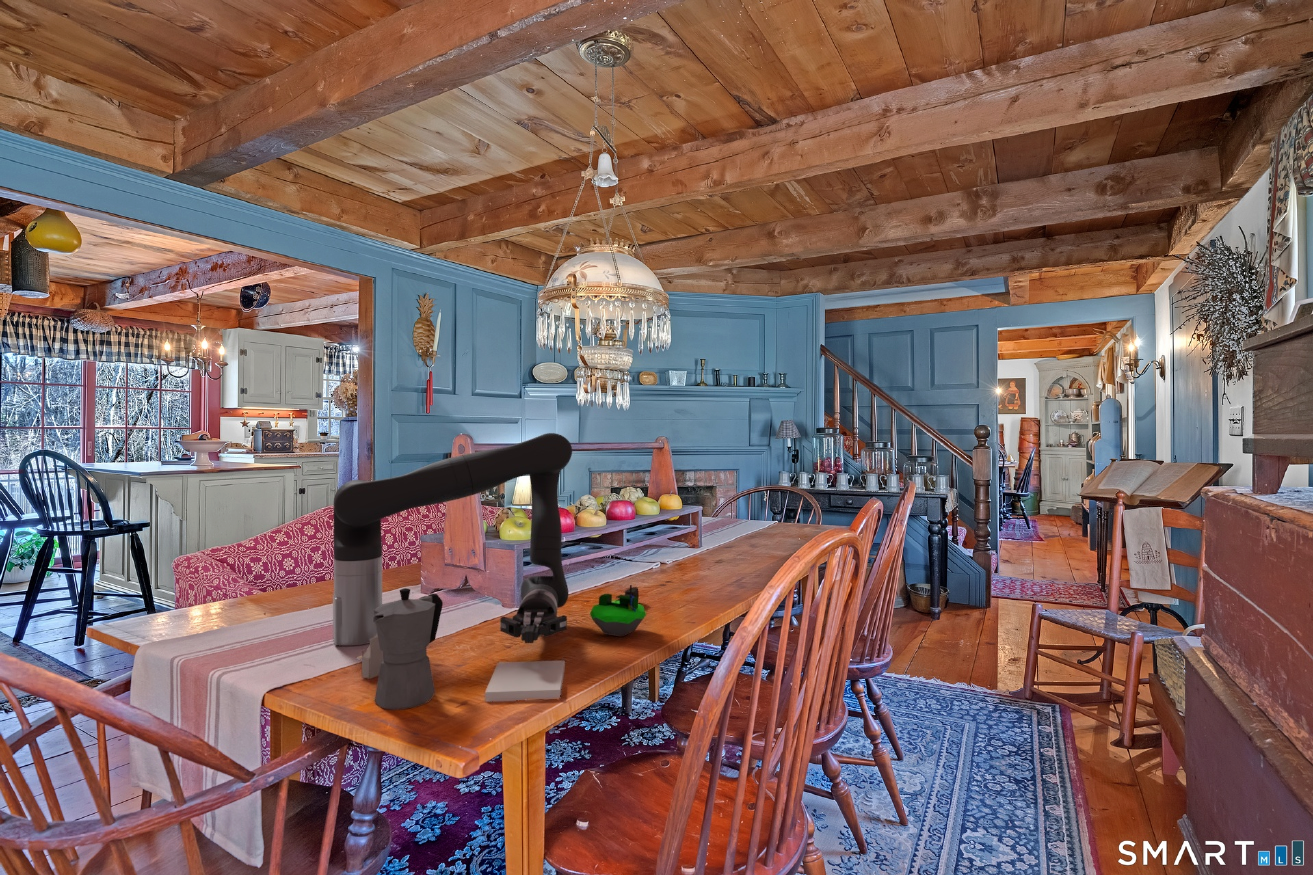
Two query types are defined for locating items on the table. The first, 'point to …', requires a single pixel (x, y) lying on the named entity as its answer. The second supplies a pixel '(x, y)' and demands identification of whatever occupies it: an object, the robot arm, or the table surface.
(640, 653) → the table surface
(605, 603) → the floating island model
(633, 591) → the hand tool
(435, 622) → the coffeepot
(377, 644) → the architectural model
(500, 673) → the tile
